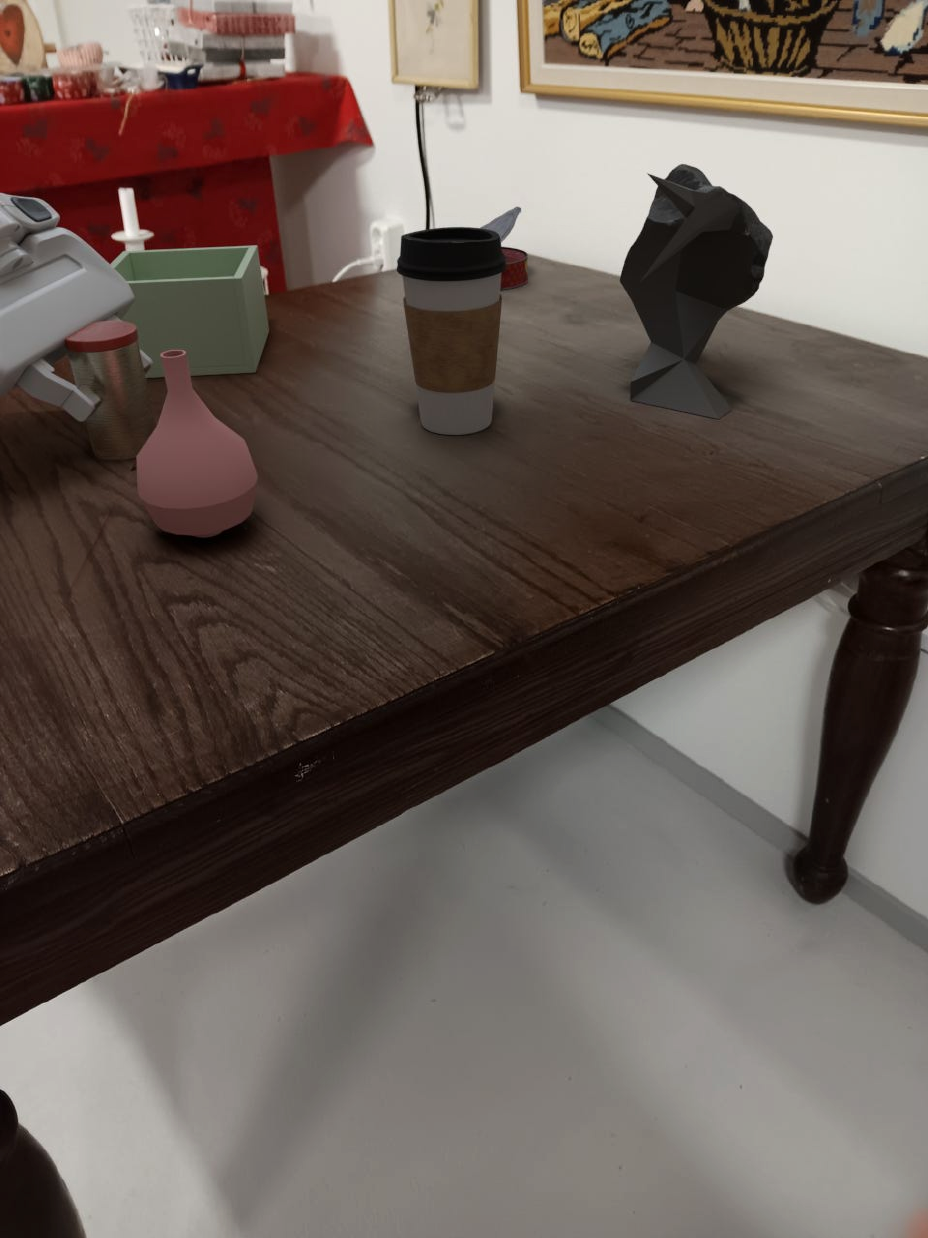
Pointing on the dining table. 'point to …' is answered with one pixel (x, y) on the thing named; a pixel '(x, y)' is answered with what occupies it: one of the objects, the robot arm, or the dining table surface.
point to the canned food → (510, 251)
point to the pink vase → (193, 463)
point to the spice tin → (113, 387)
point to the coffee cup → (453, 323)
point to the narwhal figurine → (690, 284)
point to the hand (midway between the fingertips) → (120, 391)
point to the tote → (198, 306)
